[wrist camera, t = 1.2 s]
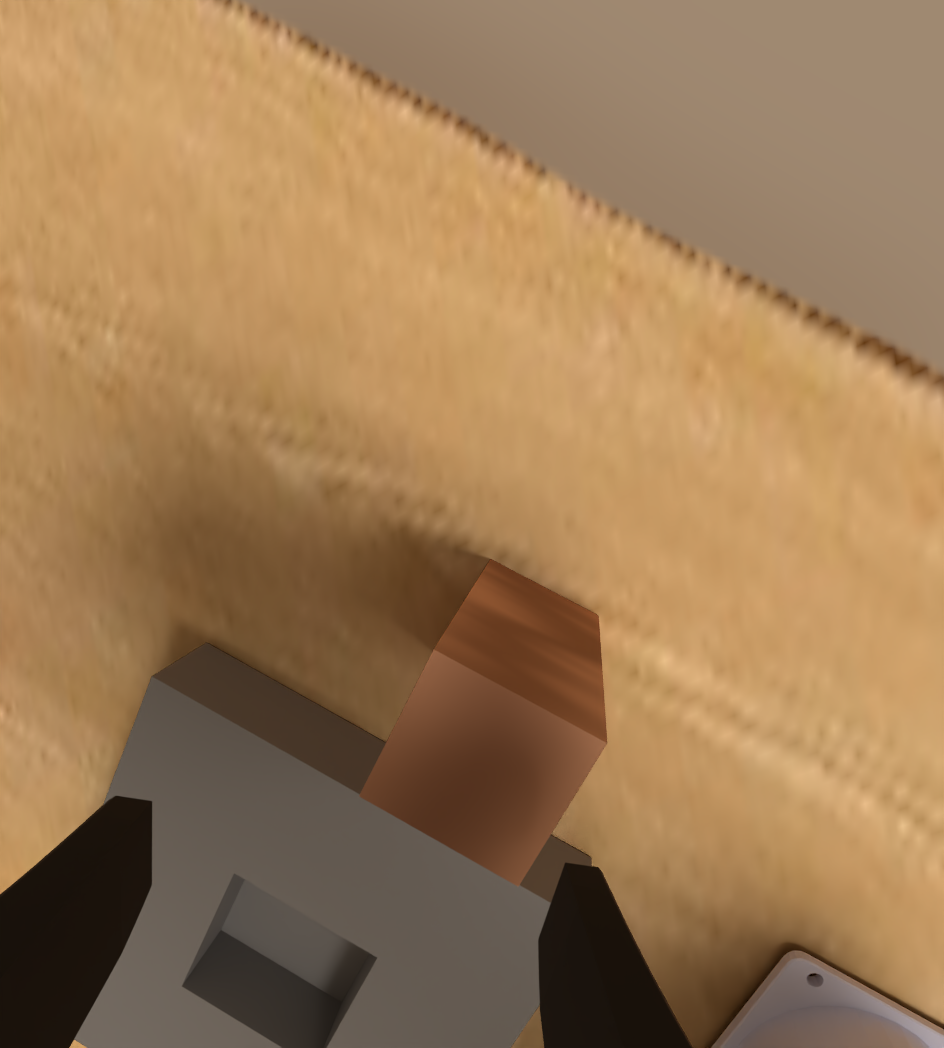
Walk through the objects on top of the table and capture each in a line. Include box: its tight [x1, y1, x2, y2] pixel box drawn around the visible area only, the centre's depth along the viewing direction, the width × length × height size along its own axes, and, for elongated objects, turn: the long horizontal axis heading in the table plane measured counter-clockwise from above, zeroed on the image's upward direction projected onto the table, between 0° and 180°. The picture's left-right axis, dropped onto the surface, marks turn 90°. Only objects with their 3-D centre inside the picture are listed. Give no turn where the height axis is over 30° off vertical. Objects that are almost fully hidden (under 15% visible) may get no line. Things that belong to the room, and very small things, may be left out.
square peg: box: [359, 559, 607, 887], centre depth 17 cm, size 4×4×8 cm
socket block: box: [74, 643, 592, 1048], centre depth 23 cm, size 16×16×3 cm
